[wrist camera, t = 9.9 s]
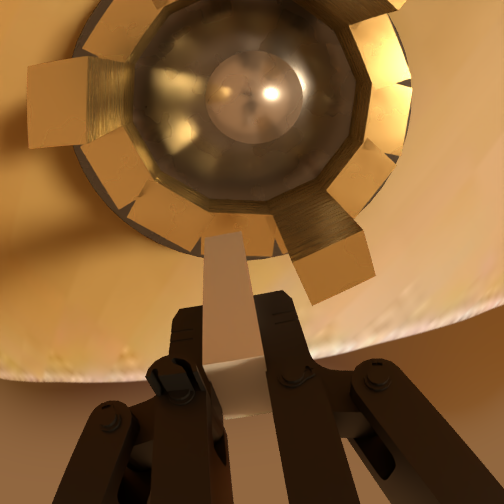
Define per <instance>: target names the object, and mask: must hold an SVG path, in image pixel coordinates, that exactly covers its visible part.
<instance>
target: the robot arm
mask: <svg viewBox="0 0 504 504" xmlns="http://www.w3.org/2000/svg"><path fill="white" fill-rule="evenodd" d="M171 333H172V334H171V338H170V342H171V343H170V347H169V355H168V356H164V357H162V358H160V359H158V360H157V361H155V362H154V363H153V364H152V365H151V366H150V368H149V369H148V371H147V374H146V376H145V377H146V379H147V381H148V382H149V384H150V386H151V387H152V389H153V390H154V392H155V394H156V396H154V397H153V398H151V399H149V400H147V401H145V402H142V403H139V404H137V405H134V406H131V407H127V406H126V404H124V403H122V402H119V401H107V402H104V403H101V404H100V405H99V406H97V407H96V408H95V409H94V410H93V412H92V413H91V415H90V416H89V419H88V421H87V423H86V425H85V427H84V430H83V432H82V434H81V436H80V438H79V441H78V443H77V445H76V448H75V449H74V452H73V454H72V456H71V459H70V461H69V463H68V466H67V468H66V470H65V473H64V475H63V477H62V480H61V483H60V485H59V488H58V490H57V492H56V495H55V497H54V500H53V502H52V504H234V502H233V493H232V483H231V473H230V462H229V451H228V440H227V434H226V431H225V428H224V426H223V415H224V418H225V419H232V418H239V417H246V416H253V415H259V414H265V413H270V412H273V418H274V423H275V428H276V434H277V439H278V445H279V451H280V456H281V462H282V467H283V472H284V478H285V484H286V488H287V494H288V500H289V504H360V501H359V498H358V495H357V491H356V488H355V484H354V481H353V478H352V474H351V471H350V468H349V464H348V461H347V458H346V454H345V451H344V448H343V444H342V442H341V438H347V439H348V440H349V442H350V444H351V445H352V447H353V448H354V450H355V451H356V452H357V454H358V455H359V457H360V458H361V460H362V461H363V463H364V464H365V466H366V467H367V469H368V470H369V472H370V473H371V475H372V476H373V478H374V479H375V481H376V482H377V483H378V485H379V487H380V488H381V489H382V491H383V492H384V494H385V495H386V497H387V498H388V500H389V501H390V503H391V504H504V489H503V487H502V486H501V485H500V484H499V482H498V481H497V480H496V479H495V478H494V476H493V475H492V474H491V473H490V472H489V470H488V469H487V468H486V467H485V466H484V464H483V463H482V462H481V461H480V460H479V459H478V457H477V456H476V455H475V454H474V453H473V451H472V450H471V449H470V448H469V447H468V446H467V444H466V443H465V442H464V441H463V440H462V439H461V437H460V436H459V435H458V434H457V433H456V432H455V430H454V429H453V428H452V427H451V426H450V425H449V423H448V422H447V421H446V420H445V419H444V418H443V417H442V415H441V414H440V413H439V412H438V411H437V410H436V409H435V407H434V406H433V405H432V404H431V403H430V402H429V401H428V400H427V398H426V397H425V396H424V395H423V394H422V393H421V392H420V391H419V389H418V388H417V387H416V386H415V385H414V384H413V383H412V382H411V380H409V378H408V377H407V376H406V375H405V374H404V373H403V372H402V371H401V370H400V368H399V367H398V366H396V365H395V364H394V363H392V362H391V361H388V360H384V359H370V360H366V361H364V362H362V363H361V364H359V365H358V366H357V367H356V368H355V370H354V371H339V370H330V369H327V368H324V367H322V366H320V365H318V364H317V363H316V362H315V361H314V360H313V359H312V357H311V355H310V353H309V350H308V347H307V343H306V340H305V337H304V334H303V331H302V328H301V325H300V322H299V320H298V316H297V313H296V310H295V307H294V304H293V301H292V298H291V297H290V296H288V295H287V294H286V293H285V292H284V291H283V290H281V291H275V292H270V293H264V294H259V295H254V296H253V292H252V287H251V281H250V276H249V270H248V265H247V259H246V254H245V248H244V243H243V237H242V232H241V231H239V232H233V233H228V234H222V235H217V236H211V237H206V238H205V245H204V276H203V305H201V306H195V307H189V308H183V309H179V311H178V312H177V314H176V315H175V317H174V319H173V320H172V329H171Z"/></svg>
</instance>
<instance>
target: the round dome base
mask: <svg viewBox="0 0 504 504" xmlns="http://www.w3.org/2000/svg"><path fill="white" fill-rule="evenodd" d="M199 1H201V0H113V2H112V3H111V4H110V6H109V7H108V9H107V10H106V12H105V13H104V15H103V16H102V17H101V19H100V20H99V22H98V23H97V25H96V27H95V28H94V30H93V31H92V33H91V34H90V36H89V38H88V39H87V41H86V43H85V44H84V46H83V48H82V49H84V50H86V51H88V52H90V53H92V54H94V55H96V56H98V57H92V56H83V57H76V58H70V59H64V60H58V61H52V62H47V63H42V64H37V65H32V66H28V72H27V127H28V145H29V149H34V148H44V147H55V146H67V145H82V144H84V145H82V146H81V147H80V148H81V149H82V151H83V153H84V154H85V156H86V158H87V159H88V161H89V163H90V164H91V166H92V168H93V169H94V171H95V173H96V174H97V176H98V178H99V179H100V181H101V183H102V184H103V186H104V187H105V189H106V191H107V192H108V194H109V195H110V197H111V198H112V200H113V202H114V203H115V205H116V206H117V208H118V209H121V208H122V207H124V206H126V205H128V204H129V203H131V202H133V201H134V200H136V201H135V203H134V205H133V207H132V208H131V210H130V212H129V214H128V216H127V218H129V219H131V220H133V221H135V222H136V223H138V224H140V225H142V226H144V227H145V228H147V229H149V230H151V231H153V232H155V233H156V234H158V235H160V236H162V237H164V238H166V239H167V240H169V241H171V242H173V243H175V244H177V245H178V246H180V247H182V248H184V249H186V250H188V251H190V252H191V250H192V249H193V247H194V246H195V244H196V243H197V241H198V240H199V238H200V237H201V255H204V245H205V238H206V237H211V236H217V235H222V234H228V233H233V232H239V231H241V232H242V237H243V243H244V248H245V254H246V256H271V257H272V254H273V247H274V240H276V242H277V244H278V246H279V248H280V250H281V252H282V254H285V253H287V252H288V253H289V256H290V258H291V260H292V263H293V265H294V267H295V269H296V271H297V274H298V276H299V278H300V280H301V282H302V284H303V287H304V289H305V291H306V293H307V295H308V298H309V300H310V302H311V304H312V305H315V304H317V303H319V302H321V301H324V300H326V299H328V298H330V297H332V296H334V295H337V294H339V293H341V292H343V291H345V290H347V289H349V288H352V287H354V286H356V285H358V284H360V283H362V282H364V281H366V280H368V279H370V278H372V277H374V276H376V275H375V271H374V268H373V264H372V260H371V256H370V253H369V249H368V245H367V242H366V238H365V235H364V231H363V229H362V228H361V227H360V226H359V225H358V224H357V223H356V222H355V221H354V220H353V218H354V219H355V217H356V216H357V215H358V214H359V212H360V211H361V210H362V209H363V207H364V206H365V205H366V204H367V202H368V201H369V200H370V199H371V197H372V196H373V195H374V194H375V192H376V191H377V190H378V189H379V187H380V186H381V185H382V184H383V182H384V181H385V180H386V178H387V177H388V176H389V175H390V173H391V172H392V171H393V169H394V168H395V167H396V166H397V165H396V164H395V163H394V162H393V161H392V160H391V159H390V158H389V157H388V156H387V155H386V154H385V153H387V154H393V155H398V156H401V153H402V148H403V143H404V137H405V132H406V126H407V120H408V114H409V108H410V101H411V95H412V88H409V87H406V86H403V85H399V84H396V83H397V82H400V81H403V80H407V79H410V78H411V75H410V72H409V69H408V66H407V63H406V61H405V58H404V55H403V52H402V50H401V47H400V44H399V42H398V39H397V36H396V34H395V31H394V29H393V27H392V24H391V22H390V19H389V17H388V15H387V13H390V12H394V11H397V10H399V9H400V7H401V6H402V5H403V4H404V3H405V2H406V0H293V1H294V2H296V3H297V4H299V5H300V6H301V7H303V8H304V9H306V10H307V11H308V12H310V13H311V14H312V15H314V16H315V17H316V18H318V19H319V20H320V21H322V22H323V23H324V24H326V25H327V26H328V27H329V28H331V29H332V30H333V31H334V32H335V34H336V36H337V38H338V40H339V42H340V45H341V47H342V49H343V52H344V54H345V56H346V59H347V61H348V64H349V66H350V69H351V71H352V74H353V76H354V79H355V81H356V87H355V94H354V102H353V109H352V116H351V122H350V129H349V135H348V137H347V138H346V139H345V141H344V142H343V143H342V145H341V146H340V147H339V149H338V150H337V151H336V152H335V154H334V155H333V156H332V158H331V159H330V160H329V161H328V163H327V164H326V165H325V167H324V168H323V169H322V170H321V172H320V173H319V174H318V176H317V177H316V178H315V179H313V180H311V181H308V182H306V183H304V184H302V185H299V186H297V187H295V188H293V189H291V190H288V191H286V192H284V193H282V194H280V195H278V196H275V197H273V198H271V199H269V200H267V201H253V200H231V199H209V198H207V197H206V196H204V195H202V194H201V193H199V192H197V191H195V190H194V189H192V188H190V187H189V186H187V185H185V184H183V183H182V182H180V181H178V180H177V179H175V178H173V177H171V176H170V175H168V174H166V173H165V172H163V171H161V170H160V168H159V166H158V165H157V163H156V161H155V160H154V158H153V156H152V154H151V153H150V151H149V149H148V147H147V146H146V144H145V142H144V140H143V139H142V137H141V135H140V133H139V131H138V130H137V128H136V126H135V124H134V123H133V100H134V79H135V64H136V62H137V61H138V59H139V58H140V56H141V55H142V53H143V52H144V50H145V49H146V47H147V46H148V44H149V43H150V42H151V40H152V39H153V37H154V36H155V34H156V33H157V32H158V30H159V29H160V27H161V26H162V25H163V23H164V22H165V21H166V19H167V18H168V17H169V15H171V14H173V13H175V12H177V11H179V10H181V9H183V8H185V7H188V6H190V5H192V4H194V3H196V2H199Z"/></svg>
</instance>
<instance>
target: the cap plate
mask: <svg viewBox="0 0 504 504" xmlns="http://www.w3.org/2000/svg"><path fill="white" fill-rule="evenodd" d="M112 2H113V0H101V1H100V3H99V4H98V6H97V7H96V9H95V10H94V12H93V13H92V15H91V16H90V18H89V19H88V21H87V23H86V24H85V26H84V29H83V31H82V33H81V35H80V37H79V39H78V41H77V44H76V47H75V50H74V53H73V56H72V58H76V57H83V56H92V57H98V56H96V55H94V54H92V53H90V52H88V51H86V50H84V49H82V48H83V46H84V44H85V43H86V41H87V39H88V38H89V36H90V34H91V33H92V31H93V30H94V28H95V27H96V25H97V23H98V22H99V20H100V19H101V17H102V16H103V15H104V13H105V12H106V10H107V9H108V7H109V6H110V4H111V3H112ZM387 15H388V13H387ZM388 17H389V15H388ZM389 19H390V17H389ZM390 22H391V24H392V27H393V29H394V31H395V34H396V36H397V39H398V42H399V44H400V47H401V50H402V52H403V55H404V58H405V61H406V63H407V66H408V62H407V58H406V54H405V50H404V47H403V45H402V42H401V39H400V37H399V34H398V32H397V30H396V28H395V26H394V24H393V22H392V21H391V19H390ZM408 69H409V67H408ZM409 72H410V71H409ZM396 84H399V85H403V86H406V87H409V88H411V80H410V79H407V80H403V81H400V82H397V83H396ZM355 87H356V81H355V79H354V76H353V74H352V71H351V69H350V66H349V64H348V61H347V59H346V56H345V54H344V52H343V49H342V47H341V45H340V42H339V40H338V38H337V36H336V34H335V32H334V31H333V30H332V29H331V28H329V27H328V26H327V25H326V24H324V23H323V22H322V21H320V20H319V19H318V18H316V17H315V16H314V15H312V14H311V13H310V12H308V11H307V10H306V9H304V8H303V7H301V6H300V5H299V4H297V3H296V2H294V1H293V0H201V1H199V2H196V3H194V4H192V5H190V6H188V7H185V8H183V9H181V10H179V11H177V12H175V13H173V14H171V15H169V17H168V18H167V19H166V21H165V22H164V23H163V25H162V26H161V27H160V29H159V30H158V32H157V33H156V34H155V36H154V37H153V39H152V40H151V42H150V43H149V44H148V46H147V47H146V49H145V50H144V52H143V53H142V55H141V56H140V58H139V59H138V61H137V62H136V64H135V79H134V100H133V123H134V124H135V126H136V128H137V130H138V131H139V133H140V135H141V137H142V139H143V140H144V142H145V144H146V146H147V147H148V149H149V151H150V153H151V154H152V156H153V158H154V160H155V161H156V163H157V165H158V166H159V168H160V170H161V171H163V172H165V173H166V174H168V175H170V176H171V177H173V178H175V179H177V180H178V181H180V182H182V183H183V184H185V185H187V186H189V187H190V188H192V189H194V190H195V191H197V192H199V193H201V194H202V195H204V196H206V197H207V198H209V199H231V200H253V201H267V200H269V199H271V198H273V197H275V196H278V195H280V194H282V193H284V192H286V191H288V190H291V189H293V188H295V187H297V186H299V185H302V184H304V183H306V182H308V181H311V180H313V179H315V178H316V177H317V176H318V174H319V173H320V172H321V170H322V169H323V168H324V167H325V165H326V164H327V163H328V161H329V160H330V159H331V158H332V156H333V155H334V154H335V152H336V151H337V150H338V149H339V147H340V146H341V145H342V143H343V142H344V141H345V139H346V138H347V137H348V135H349V129H350V122H351V116H352V109H353V102H354V94H355ZM410 114H411V101H410V108H409V114H408V120H407V126H406V132H405V137H404V141H405V138H406V135H407V131H408V125H409V120H410ZM82 145H84V144H82ZM82 145H73V147H74V151H75V153H76V156H77V158H78V160H79V163H80V165H81V167H82V169H83V172H84V173H85V175H86V177H87V178H88V180H89V181H90V183H91V185H92V186H93V188H94V189H95V191H96V192H97V193H98V195H99V196H100V197H101V198H102V199H103V201H104V202H105V203H106V204H107V206H108V207H109V208H110V209H111V210H113V211H114V212H115V213H116V214H117V215H118V216H119V217H120V218H121V219H122V220H123V221H124V222H126V223H127V224H128V225H130V226H131V227H133V228H134V229H135V230H137V231H138V232H140V233H141V234H143V235H144V236H146V237H148V238H150V239H152V240H154V241H155V242H157V243H159V244H161V245H164V246H166V247H169V248H171V249H174V250H176V251H179V252H182V253H186V254H190V255H194V256H197V257H202V258H204V255H201V237H200V238H199V240H198V241H197V243H196V244H195V246H194V247H193V249H192V250H191V252H190V251H188V250H186V249H184V248H182V247H180V246H178V245H177V244H175V243H173V242H171V241H169V240H167V239H166V238H164V237H162V236H160V235H158V234H156V233H155V232H153V231H151V230H149V229H147V228H145V227H144V226H142V225H140V224H138V223H136V222H135V221H133V220H131V219H129V218H127V216H128V214H129V212H130V210H131V208H132V207H133V205H134V203H135V201H136V200H134V201H133V202H131V203H129V204H128V205H126V206H124V207H122V208H121V209H118V208H117V206H116V205H115V203H114V202H113V200H112V198H111V197H110V195H109V194H108V192H107V191H106V189H105V187H104V186H103V184H102V183H101V181H100V179H99V178H98V176H97V174H96V173H95V171H94V169H93V168H92V166H91V164H90V163H89V161H88V159H87V158H86V156H85V154H84V153H83V151H82V149H81V148H80V147H81V146H82ZM403 145H404V143H403ZM385 154H386V155H387V156H388V157H389V158H390V159H391V160H392V161H393V162H394V163H395V164H396V162H397V160H398V158H399V156H398V155H393V154H387V153H385ZM390 174H391V173H390ZM388 177H389V176H388ZM388 177H387V178H386V180H387V179H388ZM386 180H385V181H384V182H383V184H382V185H381V186H380V187H379V189H378V190H377V191H376V192H375V194H374V195H373V196H372V197H371V199H370V200H369V201H368V202H367V204H366V205H365V206H364V207H363V209H364V208H365V207H366V206H367V205H368V204H369V203H370V202H371V201H372V199H373V198H374V197H375V196H376V194H377V193H378V192H379V191H380V189H381V188H382V187H383V185H384V184H385V182H386ZM363 209H362V210H363ZM362 210H361V211H362ZM361 211H360V212H361ZM360 212H359V213H360ZM287 253H288V252H287ZM287 253H285V254H287ZM280 255H284V254H282V252H281V250H280V248H279V246H278V244H277V242H276V240H274V247H273V254H272V257H275V256H280ZM270 257H271V256H246V259H247V260H257V259H265V258H270Z"/></svg>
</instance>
